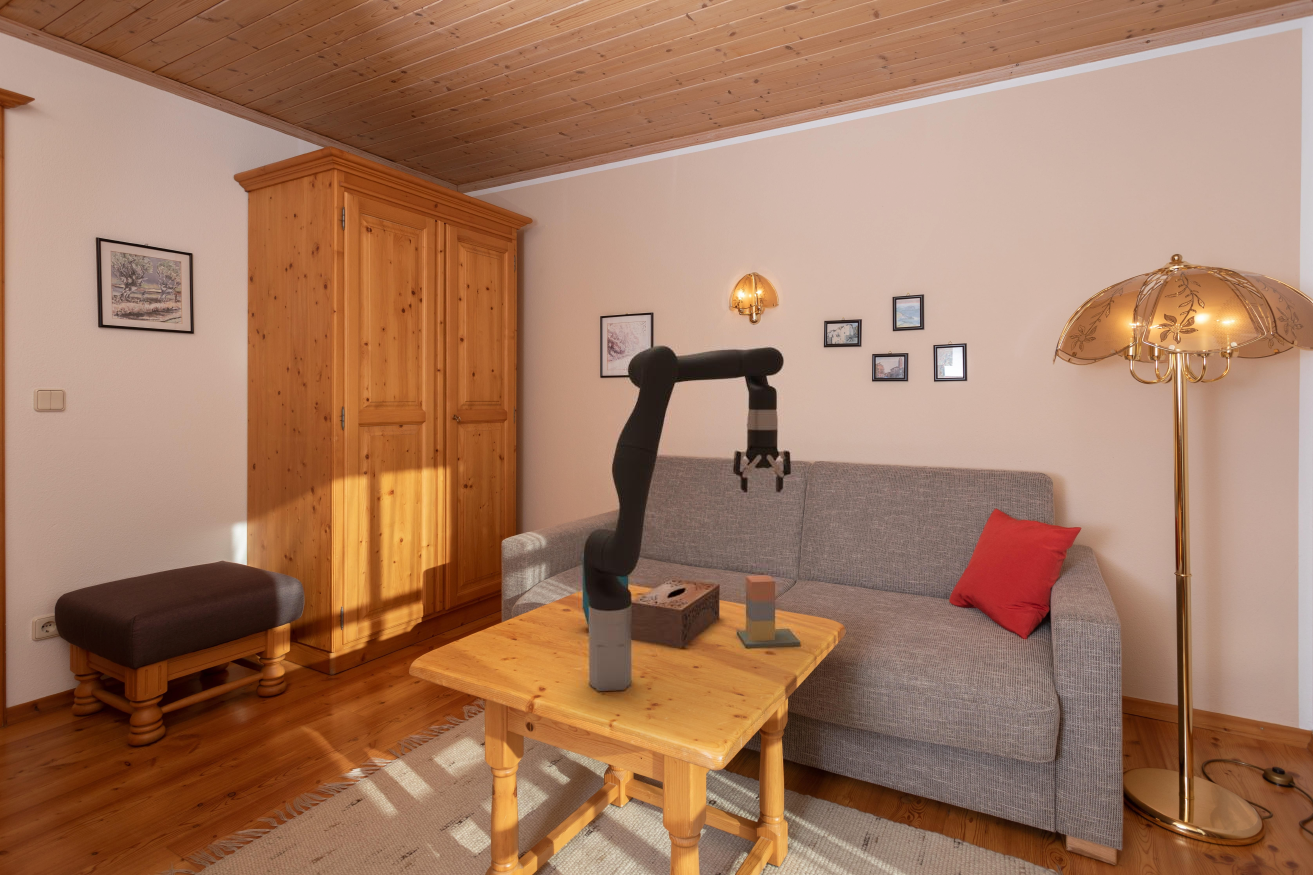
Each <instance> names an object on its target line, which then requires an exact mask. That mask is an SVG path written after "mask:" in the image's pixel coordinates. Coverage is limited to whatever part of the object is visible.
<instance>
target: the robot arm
mask: <svg viewBox="0 0 1313 875" xmlns="http://www.w3.org/2000/svg"><path fill="white" fill-rule="evenodd" d="M784 361H785V360H784V356H783V354H782V353H781V351H780V350H779V349H777V348H776V347H772V346H771V347H770V346H767V347H756V348H749V349H737V348H736V349H735V348H734V349H733V348H732V349H718V350H710V351H704V352H698V353H692V354H685V355H676V353H675V352H674V350H673V349H672V348H671V347H668V346H667V345H656V346H651V347H650V348H647V349H644V350H642V351H640V352H638V353H637V354H635V355H633V357H632V358H631V360H630V361H629V363H628V365H627V366H628V367H627V374H628V378H629V380H630V381H631V382H630V383H632V384H633V385H634V386H635V387H636V388H638V389H639V391H638V394H637V395H638V396H637V398H636V401H635V402H636V403H635V405H634V406H633V407H634V408H633V409H632V412H631V413H630V415H629V417H628V418H627V420H626V422H625V423H624V426H623V428H622V430H621V432H620V434H619V437H618V439H617V443H616V447H615V450H614V454H613V460H612V464H611V475H612V479H613V483H614V487H615V492H616V494H617V499H618V503H619V511H618V518H617V524H616V528H615V530H613V529H604V528H602V529H601V528H598V529H595V530H594V531H592V532H591V533H590V534H589V535H588V537H587V539H586V540H585V544H584V548H583V554H584V577H585V590H586V593H587V596H588V599H589V628H588V679H589V681H588V683H589V686H590V687H591V688H593V689H595V690H596V692H612V691H614V692H615V691H626V690H627V689H626V688H628V687H629V686H630V685H632V682H633V681H632V672H633V671H632V667H633V666H632V640H631V617H632V614H631V604H632V601H633V599H632V592H631V590H630V589H629V587H628V588H627V587H625V586H624V585H623V584H622V583H621V582H620V581H619V579H618V577H617V576H619V577H625V576H628V577H629V576H630V575H631V574H632V573H633V572H634V570H635V569H636V567H637V564H638V562H639V558H640V554H641V549H642V540H643V534H644V526H645V525H644V524H645V517H646V516H645V515H646V509H647V502H648V497H649V494H650V487H651V483H652V480H653V474H654V471H655V468H656V467H655V466H656V462H657V459H658V453H659V447H660V440H661V437H662V432H663V428H664V422H665V417H666V414H667V409H668V407H669V402H670V400H671V397H672V394H673V390H674V388H675V385H676V383H677V384H678V383H683V382H691V381H692V382H693V381H695V382H696V381H710V380H711V381H712V380H713V381H714V380H715V381H716V380H727V379H728V380H729V379H730V380H731V379H738V378H743V377H744V380H745V384H746V388H747V392H748V413H747V418H746V419H747V420H746V428H747V431H746V434H747V437H746V443H747V444H746V446H747V447H746V450H745V451H739V450H735V451H734V454H733V467H732V473H733V474H734V475H736V476H738V477H740V480H739V481H740V490H741V491H742V492H743V493H748V481H749V480H748V477H747V476H748V475H750V473H751V472H752V471H753V469H754V468H755V469H762V468H763V469H771V470H773V472H774V473H775V475H776V476H775V493H776V492H777V493H781V491H783V489H784V478H785V476H789V475H791V473H792V466H791V452H790V451H789V450H783V451H779V450H778V436H779V435H778V434H779V433H778V432H779V430H778V427H779V426H778V424H779V423H778V422H779V420H778V410H777V409H778V400H777V399H778V393H777V389H776V388H775V387H774V386H772V385H770V384H769V381H768V377H771V376H775V375H777V374H778V373H779V372H780V371H781V370H782V369H783V366H784ZM744 457H745V458H746V459H747V460H748V461H747V463H746V464H745V465H744V468H743V469H742V470H741V464H742V462H741V461H742V460H744ZM779 457H780V459H781V460H782V468H783V469H781V468H780V466H779V464H777V460H778V458H779Z"/></svg>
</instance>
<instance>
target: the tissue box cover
mask: <svg viewBox="0 0 1313 875" xmlns="http://www.w3.org/2000/svg"><path fill="white" fill-rule="evenodd" d="M720 586H721V585H720V584H718V583H717V584H716V583H711V582H705V581H704V582H703V581H695V580H689V579H683V578H674V577H672V578H670V579H669V580H667V581H665V582H663V583H662V584H659V585H658V586H656V587H654V588H653V589H651V590H650V591H647V592H646V593H644V594H642V595H640V596H638V597H637V598H635V599H632V604H631V614H632V617H631V641H637V642H641V643H647V644H654V645H658V646H663V647H669V648H675V649H680V650H681V649H682V648H684V647H685V646H687V645H689V643H691V642H692V641H693V640H694V639H696V638H697V637H698V636H699V635H700V634H702V633H703V632H704V631H706V630H707V629H708V628H710V627H711V626H713V624H714V623H715V622H717V621H718V620H720Z"/></svg>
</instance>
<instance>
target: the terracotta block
mask: <svg viewBox="0 0 1313 875" xmlns="http://www.w3.org/2000/svg"><path fill="white" fill-rule="evenodd" d="M746 596H747V597H748V598H749V599H750V601H751V602H761V601H775V602H776V581H775V580H774V579H773V577H771V576H770V575H769V574H767V575H765V574H764V575H763V574H762V575H745V597H746Z"/></svg>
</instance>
